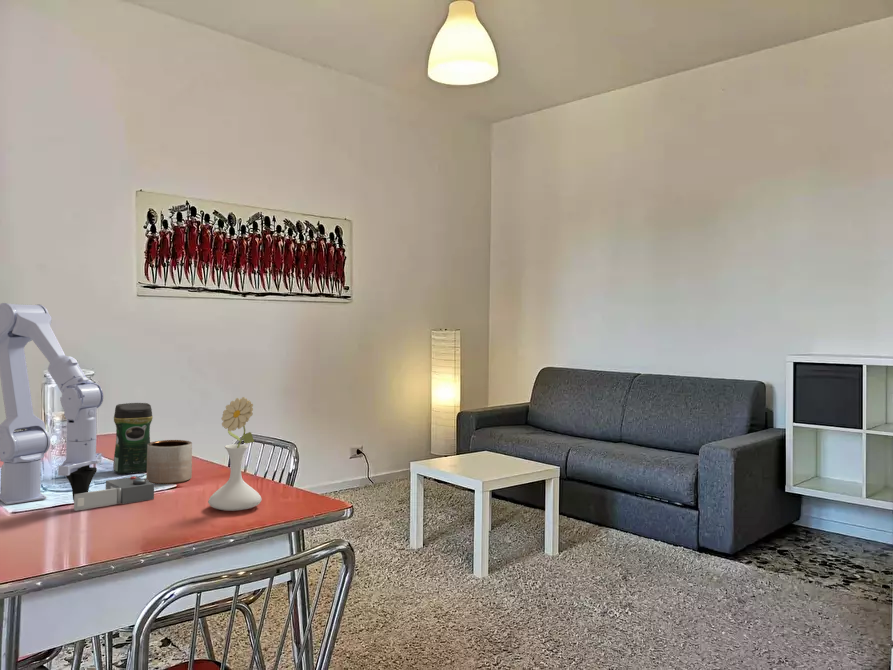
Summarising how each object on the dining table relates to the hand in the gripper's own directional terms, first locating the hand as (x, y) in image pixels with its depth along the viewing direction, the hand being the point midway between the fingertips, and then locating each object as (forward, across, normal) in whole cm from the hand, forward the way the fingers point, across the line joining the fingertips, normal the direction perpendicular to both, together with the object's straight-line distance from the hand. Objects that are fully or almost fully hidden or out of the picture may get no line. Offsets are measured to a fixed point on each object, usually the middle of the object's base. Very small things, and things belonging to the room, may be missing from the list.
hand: (80, 501), depth 150 cm
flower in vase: (+2, +2, -33) cm, 33 cm away
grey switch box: (+1, +10, -6) cm, 12 cm away
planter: (+2, +28, -8) cm, 30 cm away
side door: (+1, +1, -4) cm, 4 cm away
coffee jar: (+2, +38, +5) cm, 38 cm away
